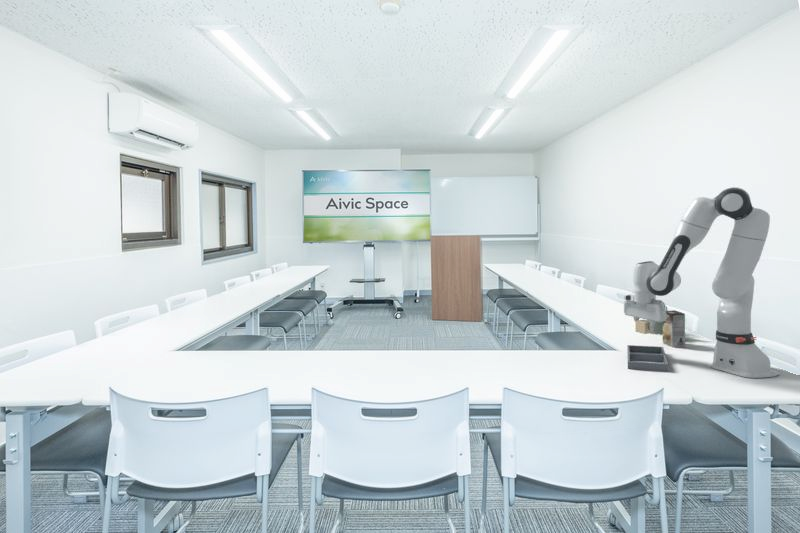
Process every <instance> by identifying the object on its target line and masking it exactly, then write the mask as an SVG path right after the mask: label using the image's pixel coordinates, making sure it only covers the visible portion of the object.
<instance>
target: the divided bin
mask: <svg viewBox="0 0 800 533" xmlns="http://www.w3.org/2000/svg"><path fill="white" fill-rule="evenodd" d="M626 348H627V350H626V351H627V370H629V369H630V370H641V371H644V370H645V371H654V372H655V371H656V372H669V363H668V360H667V354H666V352H665V349H664V346H654V345H653V346H652V345H635V344H634V345H633V344H632V345H631V344H630V345H629V344H627V346H626Z"/></svg>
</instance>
